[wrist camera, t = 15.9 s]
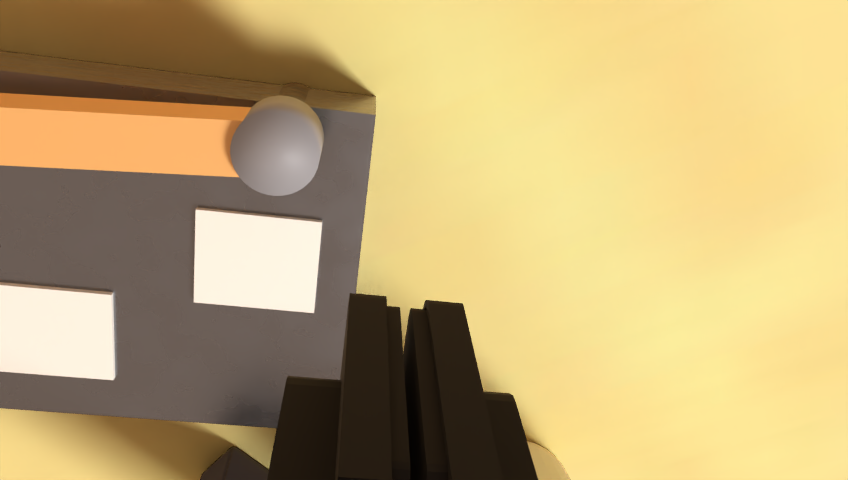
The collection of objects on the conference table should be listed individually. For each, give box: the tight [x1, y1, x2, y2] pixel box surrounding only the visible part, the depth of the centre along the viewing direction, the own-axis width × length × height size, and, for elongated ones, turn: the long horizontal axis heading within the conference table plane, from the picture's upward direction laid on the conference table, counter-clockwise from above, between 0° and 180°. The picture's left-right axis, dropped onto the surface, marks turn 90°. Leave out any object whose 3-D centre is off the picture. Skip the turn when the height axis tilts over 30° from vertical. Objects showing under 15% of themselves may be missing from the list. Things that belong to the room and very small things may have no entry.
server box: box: [0, 51, 376, 428], centre depth 38 cm, size 22×18×6 cm
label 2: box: [194, 207, 322, 313], centre depth 37 cm, size 6×5×1 cm
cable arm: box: [0, 93, 324, 196], centre depth 31 cm, size 20×4×3 cm, turn 86°
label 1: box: [0, 282, 115, 380], centre depth 38 cm, size 6×5×1 cm
